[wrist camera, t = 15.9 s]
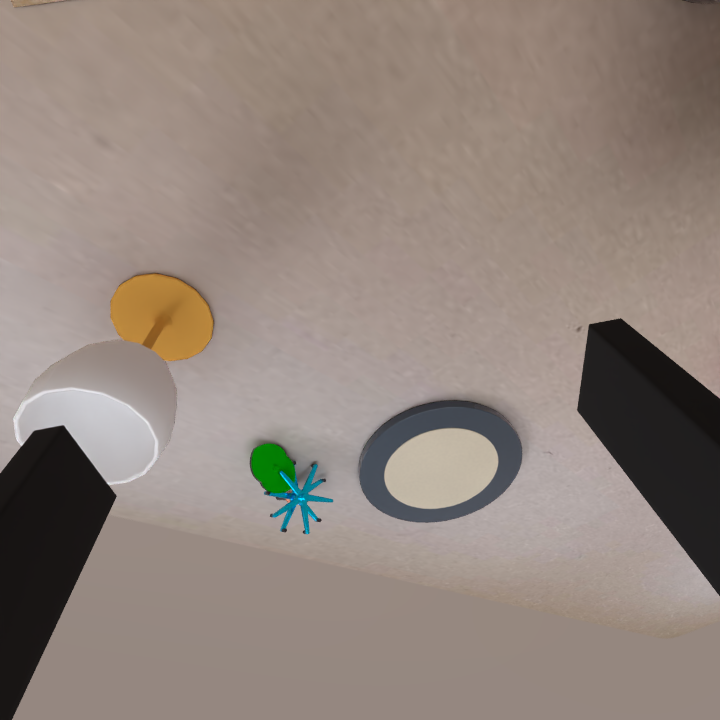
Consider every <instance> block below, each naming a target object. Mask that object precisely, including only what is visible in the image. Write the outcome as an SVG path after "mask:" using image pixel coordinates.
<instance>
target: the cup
mask: <svg viewBox="0 0 720 720" xmlns="http://www.w3.org/2000/svg"><path fill="white" fill-rule="evenodd" d="M111 320H112V322H113V324H114V326H115V328H116V330H117V333H118V335H119V336H121V337H122V338H123V339H124V340H114V341H106V342H100V343H95V344H89V345H87V346H85V347H83V348H81V349H79V350H77V351H75V352H74V353H72V354H70V355H68V356H66V357H65V358H63V359H61V360H60V361H58V362H56V363H54V364H53V365H51V366H50V367H49V368H48V369H47V370H46V371H45V372H43V373H42V374H41V375H40V376H39V377H38V378H37V379H35V380H34V382H33V384H32V385H31V387H30V389H29V391H28V392H27V394H26V396H25V398H24V399H23V401H22V403H21V405H20V407H19V408H18V410H17V412H16V414H15V416H14V418H13V422H14V429H15V436H16V440H17V441H18V442H19V444H20V445H21V446H22V445H23V444H24V443H25V441H26V440H27V439H28V438H29V436H30V435H31V434H32V432H33V431H35V430H40V429H45V428H50V427H56V426H61V425H64V426H65V428H66V429H67V430H68V432H69V433H70V434H71V436H72V437H73V438H74V440H75V441H76V442H77V444H78V445H79V446H80V448H81V449H82V450H83V452H84V453H85V454H86V456H87V457H88V458H89V460H90V461H91V462H92V464H93V465H94V466H95V468H96V469H97V470H98V472H99V473H100V474H101V476H102V477H103V478H104V480H105V481H106V482H107V484H108V485H112V484H119V483H127V482H130V481H132V480H134V479H136V478H138V477H140V476H142V475H144V474H146V473H147V472H148V471H149V470H150V468H151V467H152V466H153V465H154V463H155V462H156V461H157V460H158V458H159V457H160V455H161V454H162V452H163V451H164V449H165V447H166V446H167V444H168V443H169V441H170V438H171V434H172V431H173V427H174V423H175V416H176V406H177V389H176V386H175V383H174V380H173V378H172V375H171V373H170V370H169V368H168V365H167V363H166V362H165V361H164V360H166V361H175V360H183V359H188V358H190V357H192V356H194V355H196V354H197V353H199V352H201V351H202V350H203V349H204V348H205V346H206V345H207V344H208V342H209V341H210V339H211V338H212V331H213V324H214V321H213V318H212V315H211V311H210V308H209V305H208V304H207V303H206V301H205V300H204V299H203V298H202V297H201V295H200V294H199V293H198V292H197V291H196V289H194V288H192V287H191V286H189V285H187V284H186V283H184V282H182V281H181V280H179V279H178V278H174V277H170V276H165V275H161V274H157V273H154V274H146V275H138V276H134V277H133V278H131V279H129V280H128V281H126V282H124V283H123V284H121V285H120V286H119V287H118V289H117V290H116V292H115V294H114V296H113V297H112V299H111Z"/></svg>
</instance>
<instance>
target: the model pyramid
mask: <svg viewBox="0 0 720 720" xmlns="http://www.w3.org/2000/svg"><path fill="white" fill-rule="evenodd" d="M58 1H66V0H11V2H12V4H13V6H14V7H20V6H28V5H35V4H43V3H50V2H58Z"/></svg>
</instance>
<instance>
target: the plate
mask: <svg viewBox="0 0 720 720" xmlns="http://www.w3.org/2000/svg"><path fill="white" fill-rule="evenodd" d="M521 461H522V446H521V442H520V439H519V437H518V435H517V433H516V431H515V429H514V428H513V426H512V425H511V424H510V422H509V421H508V420H507V419H506V418H505V417H504V416H503V415H501V414H500V413H498V412H497V411H495V410H493V409H491V408H489V407H487V406H484V405H481V404H477V403H472V402H467V401H440V402H433V403H429V404H425V405H421V406H418V407H415V408H412V409H409V410H407V411H405V412H403V413H401V414H399V415H397V416H395V417H394V418H392V419H390V420H389V421H388V422H386V423H385V424H384V425H382V426H381V427H380V428H379V429H378V430H377V431H376V432H375V433H374V434H373V435H372V437H371V438H370V439H369V440H368V442H367V444H366V446H365V447H364V449H363V452H362V454H361V457H360V462H359V478H360V485H361V488H362V490H363V493H364V494H365V496H366V498H367V499H368V500H369V501H370V503H371V504H372V505H373V506H375V507H376V508H377V509H378V510H380V511H382V512H383V513H385V514H387V515H389V516H391V517H394V518H397V519H401V520H405V521H411V522H425V523H428V522H440V521H447V520H451V519H456V518H459V517H462V516H465V515H468V514H471V513H473V512H475V511H477V510H479V509H481V508H483V507H485V506H486V505H488V504H490V503H491V502H493V501H494V500H495V499H497V498H498V497H499V496H500V495H501V494H502V493H503V492H505V490H506V489H507V488H508V487H509V486H510V485H511V483H512V482H513V480H514V479H515V477H516V475H517V473H518V471H519V469H520V465H521Z"/></svg>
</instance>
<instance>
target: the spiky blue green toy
mask: <svg viewBox="0 0 720 720" xmlns="http://www.w3.org/2000/svg"><path fill="white" fill-rule="evenodd" d="M294 465H296V462H295V461H294V462H292V461H291V459H290V458H289V457H288V456H287V455H286V453H285V451H284V450H283V449H282V448H281V447H280V446H278V445H275V444H262V445H259V446H257V447H256V448H254V449H253V451H252V453H251V457H250V469H251V472H252V474H253V476H254V477H255V479H256V480H257V481H259V482H260V484H261V486H262V487H263V488H264V489H265V490H266V491H265V492H264V495H269V496H274V497H276V499H277V500H286V501H287V502H288V504H286V505H285V506H284V507H282V508H281V509H279V510H278V511H277V512H275V513H274V514H270V517H274V518H275V517H277V516H279V515H281V514H282V513H284V512H286V511H287V510H288V511H287V513H286V516H285V519H284V521H283V524H282V527H281V529H280V531H281V532H286V531H287V529H285V528H286V526H287V524H288V522H289V520H290V518H291V516H292V514H293V511H294V509H295V507H296V505H297V504H299V505H300V506H301V511H302V517H303V523H304V528H305V530H304V531H303V534H309V533H310V532H309V521H308V514H309V515H310V516H311V517H312V518H313V519H314V520H315V521H316V522H321V519H320V518H318V517H317V516H316V515H315V514H314V512H313V511H312V510H311V509H310V507H309V506H308V505H307V502H308V501H315V502H333V499H329V498H324V497H319V496H314V495H309V494H308V493H309V492H310V491H311V490H313V489H314V488H315V487H317V486H318V485H319V484H321V483H322V482H326V479H320V480H318V481H316V482H315V483H313V484H311V483H312V480H313V478H314V475H315V472H316V469H317V467H318V465H317V464H312V465H311V467H312V470H311V472H310V474H309V476H308V478H307V481H306V483H305V485H304V487H303V489H302V490H300V489H299V488H298V483H297V477H296V472H295V466H294ZM290 489H292V491H289V492H287V493H284V492H286V491H288V490H290Z"/></svg>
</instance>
